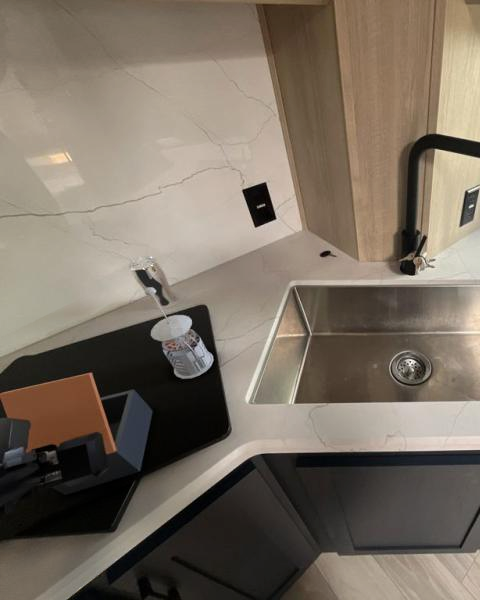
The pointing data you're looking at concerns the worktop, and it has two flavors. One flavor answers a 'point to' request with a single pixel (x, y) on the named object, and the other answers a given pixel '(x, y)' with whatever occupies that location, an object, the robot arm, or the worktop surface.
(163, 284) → the beer glass
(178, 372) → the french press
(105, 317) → the worktop surface
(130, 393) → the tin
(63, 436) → the orange square plate
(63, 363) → the worktop surface
